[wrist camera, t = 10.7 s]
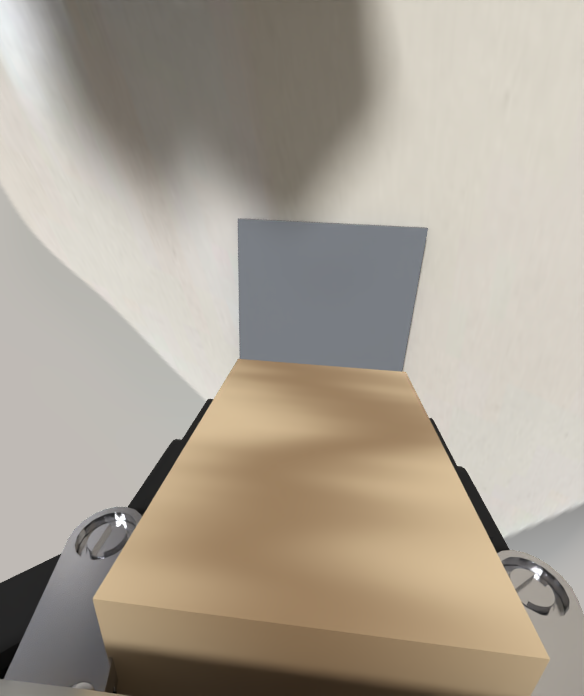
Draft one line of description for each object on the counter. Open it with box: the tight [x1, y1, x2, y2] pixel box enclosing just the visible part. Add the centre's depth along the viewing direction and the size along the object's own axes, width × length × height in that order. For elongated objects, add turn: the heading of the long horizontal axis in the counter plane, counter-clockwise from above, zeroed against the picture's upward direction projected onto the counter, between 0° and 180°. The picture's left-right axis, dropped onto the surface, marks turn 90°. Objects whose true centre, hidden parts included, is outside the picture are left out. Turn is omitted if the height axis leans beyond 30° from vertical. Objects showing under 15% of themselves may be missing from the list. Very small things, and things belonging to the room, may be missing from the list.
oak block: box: [93, 359, 550, 696], centre depth 8 cm, size 5×5×7 cm
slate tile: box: [238, 218, 428, 372], centre depth 24 cm, size 12×12×1 cm
